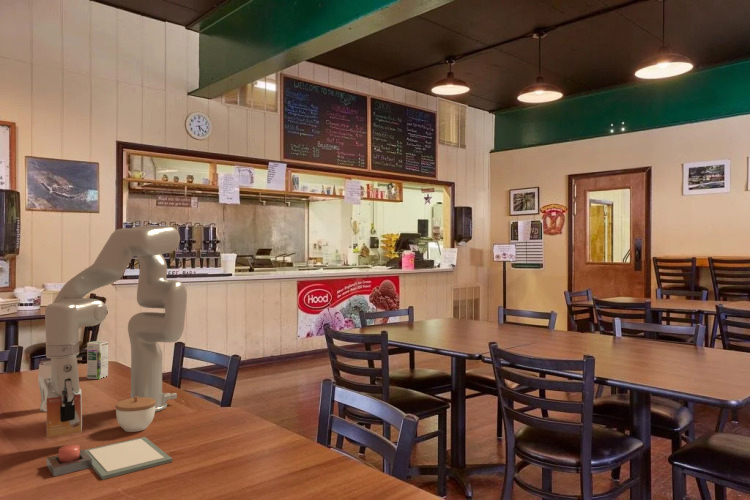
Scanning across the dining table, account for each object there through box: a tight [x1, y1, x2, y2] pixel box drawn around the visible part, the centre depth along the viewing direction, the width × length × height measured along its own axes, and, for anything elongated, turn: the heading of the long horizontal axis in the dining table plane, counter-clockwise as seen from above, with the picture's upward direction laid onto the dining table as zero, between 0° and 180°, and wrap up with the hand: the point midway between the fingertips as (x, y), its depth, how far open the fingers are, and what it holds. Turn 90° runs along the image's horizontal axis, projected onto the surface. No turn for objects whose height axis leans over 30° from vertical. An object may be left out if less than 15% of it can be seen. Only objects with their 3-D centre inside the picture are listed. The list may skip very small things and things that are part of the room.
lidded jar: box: [115, 396, 156, 433], centre depth 157 cm, size 11×11×9 cm
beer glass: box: [37, 360, 55, 413], centre depth 174 cm, size 7×7×15 cm
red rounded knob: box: [58, 444, 81, 463], centre depth 129 cm, size 4×4×3 cm
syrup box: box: [86, 340, 109, 380], centre depth 216 cm, size 6×6×14 cm
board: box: [83, 436, 173, 481], centre depth 135 cm, size 16×20×1 cm
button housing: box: [46, 449, 93, 477], centre depth 129 cm, size 8×8×2 cm
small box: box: [46, 388, 83, 438], centre depth 141 cm, size 8×6×10 cm
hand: (64, 416), depth 141 cm, fingers closed on small box, 6 cm apart
